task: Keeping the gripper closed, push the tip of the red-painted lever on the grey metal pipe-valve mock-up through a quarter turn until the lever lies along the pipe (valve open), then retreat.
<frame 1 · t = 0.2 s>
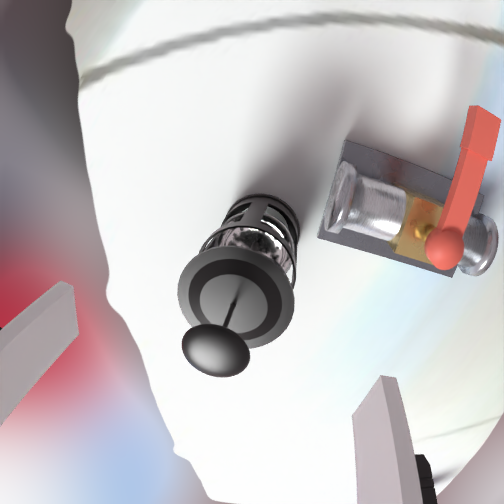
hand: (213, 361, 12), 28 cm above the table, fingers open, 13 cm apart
french press: (261, 234, 39), on the table
valve body: (406, 212, 35), on the table
lever: (465, 189, 22), point 12 cm above the table, hinge at 90.0°
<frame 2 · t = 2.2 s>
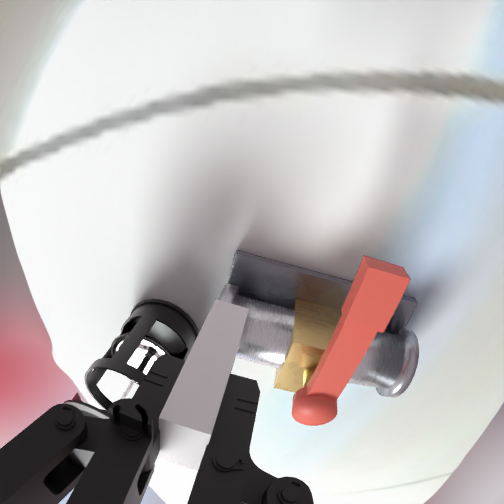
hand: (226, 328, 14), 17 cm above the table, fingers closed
french press: (164, 333, 37), on the table
valve body: (313, 322, 33), on the table
lever: (342, 358, 20), point 12 cm above the table, hinge at 90.0°
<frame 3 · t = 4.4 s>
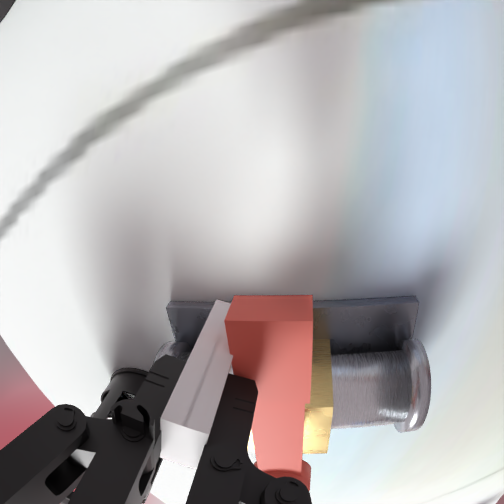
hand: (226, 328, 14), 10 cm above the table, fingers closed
french press: (149, 398, 32), on the table
valve body: (293, 359, 26), on the table
lever: (278, 433, 13), point 12 cm above the table, hinge at 89.2°, touching gripper
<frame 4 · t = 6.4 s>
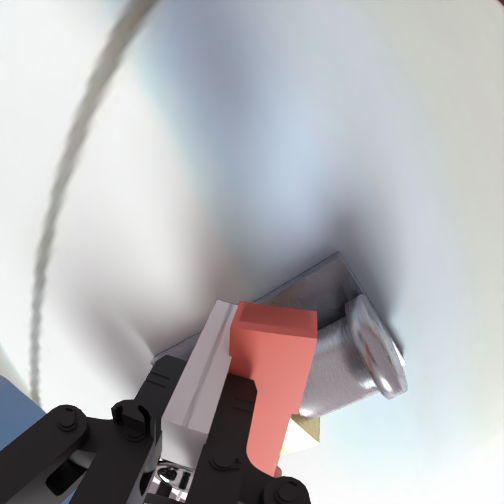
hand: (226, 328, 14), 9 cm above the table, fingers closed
french press: (201, 442, 34), on the table
valve body: (273, 362, 26), on the table
lever: (258, 437, 13), point 12 cm above the table, hinge at 48.6°, touching gripper
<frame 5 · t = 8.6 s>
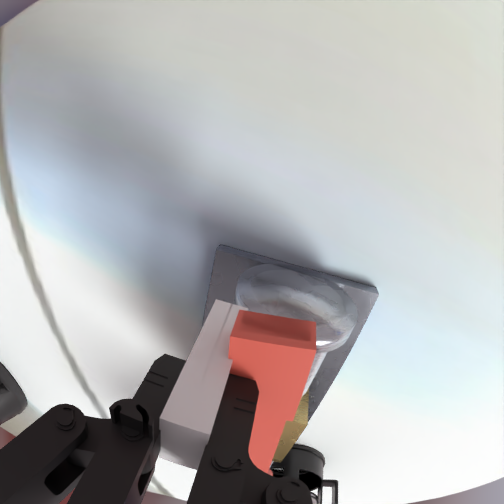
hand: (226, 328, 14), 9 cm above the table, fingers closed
french press: (292, 460, 33), on the table
valve body: (266, 364, 26), on the table
lever: (252, 441, 13), point 12 cm above the table, hinge at 6.9°, touching gripper
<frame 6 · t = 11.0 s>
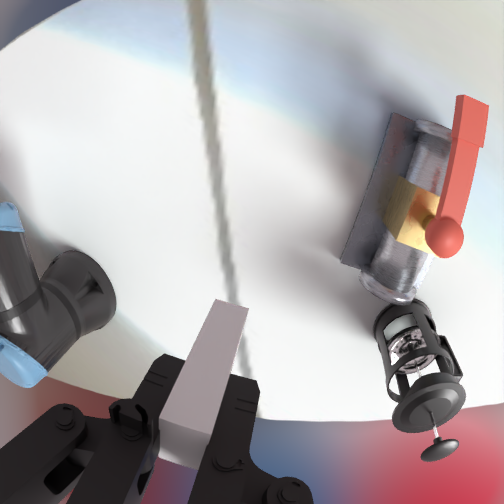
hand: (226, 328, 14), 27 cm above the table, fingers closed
french press: (405, 324, 42), on the table
valve body: (409, 204, 35), on the table
lever: (459, 178, 22), point 12 cm above the table, hinge at 7.5°
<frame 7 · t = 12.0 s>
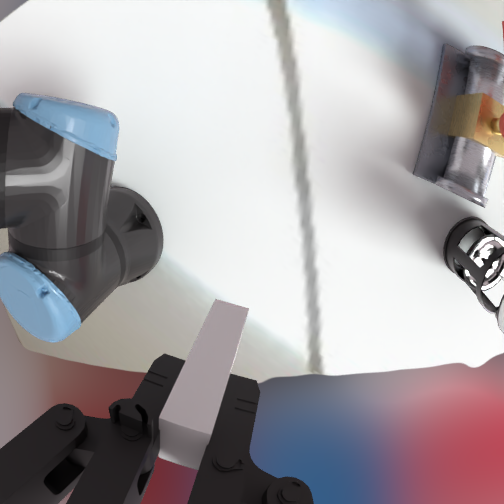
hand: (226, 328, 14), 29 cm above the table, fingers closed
french press: (470, 246, 39), on the table
valve body: (466, 123, 32), on the table
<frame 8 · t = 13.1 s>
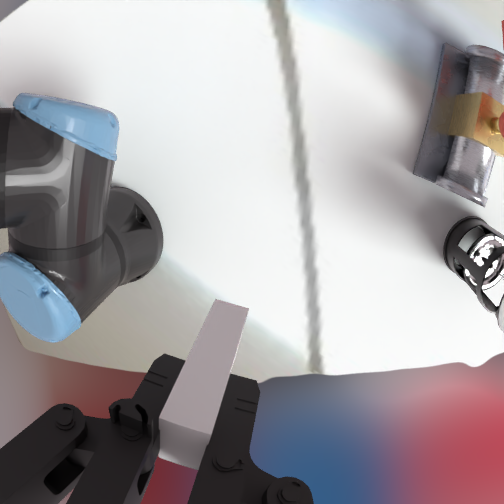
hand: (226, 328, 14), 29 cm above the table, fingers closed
french press: (470, 245, 39), on the table
valve body: (465, 123, 32), on the table
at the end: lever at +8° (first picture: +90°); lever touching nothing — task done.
